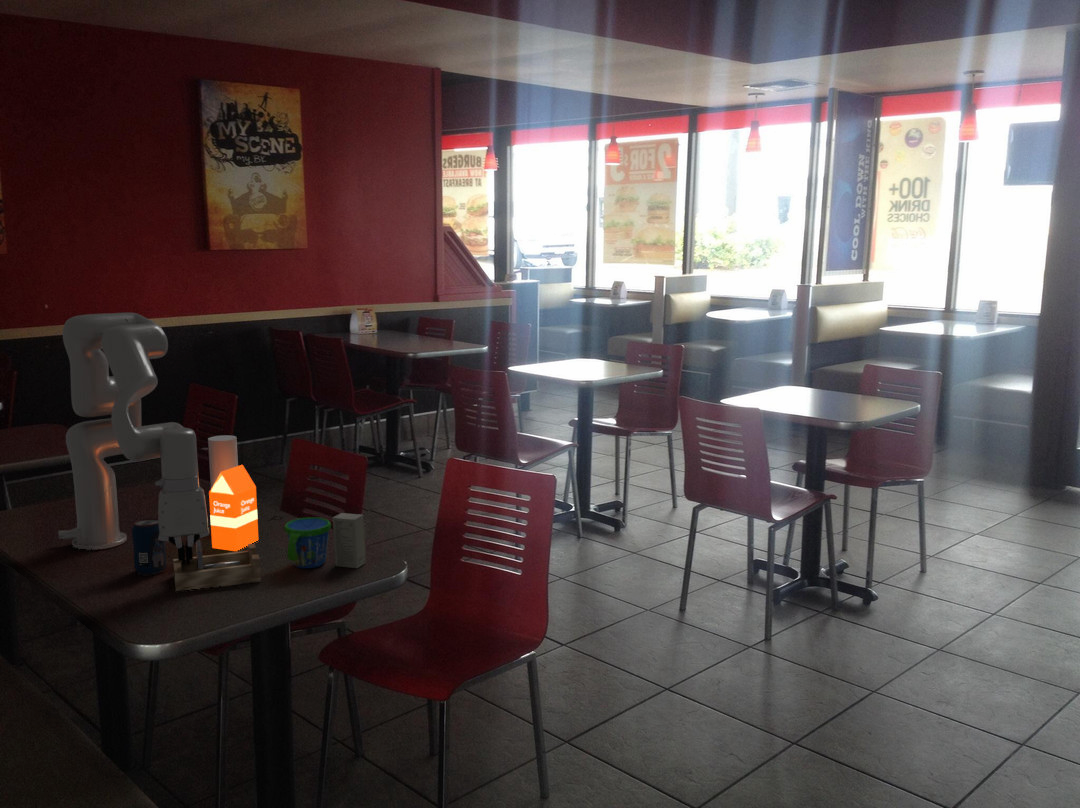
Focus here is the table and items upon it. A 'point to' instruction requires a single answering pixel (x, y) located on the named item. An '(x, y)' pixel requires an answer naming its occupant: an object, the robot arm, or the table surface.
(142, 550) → the soda can
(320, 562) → the snack cup
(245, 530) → the orange juice
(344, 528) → the skincare box
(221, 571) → the wooden tray
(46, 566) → the table surface
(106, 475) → the robot arm
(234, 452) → the cylindrical container
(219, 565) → the follower
